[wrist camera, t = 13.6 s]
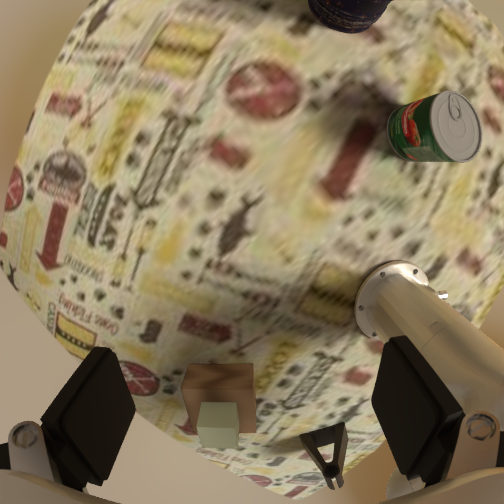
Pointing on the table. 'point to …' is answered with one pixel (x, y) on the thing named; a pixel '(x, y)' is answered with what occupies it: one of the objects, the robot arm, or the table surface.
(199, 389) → the walnut block
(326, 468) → the phone stand
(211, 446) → the sage block
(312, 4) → the storage jar
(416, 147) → the canned tomato
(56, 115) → the table surface
